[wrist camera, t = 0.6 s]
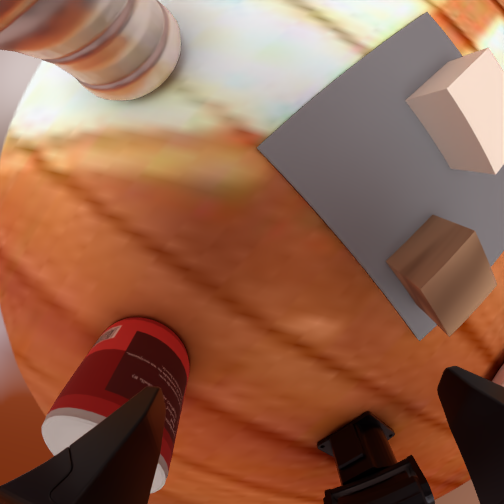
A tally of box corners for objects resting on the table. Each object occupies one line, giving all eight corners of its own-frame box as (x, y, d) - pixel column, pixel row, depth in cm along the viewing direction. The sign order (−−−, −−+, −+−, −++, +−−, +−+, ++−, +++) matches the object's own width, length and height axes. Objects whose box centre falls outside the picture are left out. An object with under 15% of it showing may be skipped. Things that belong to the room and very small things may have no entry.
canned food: (100, 374, 23) (51, 466, 13) (105, 299, 21) (29, 391, 11) (181, 401, 24) (159, 507, 14) (201, 330, 22) (175, 449, 11)
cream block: (488, 125, 17) (531, 124, 12) (450, 168, 18) (495, 174, 13) (447, 62, 16) (488, 47, 11) (405, 100, 17) (446, 88, 12)
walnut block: (458, 261, 20) (497, 284, 15) (416, 304, 21) (449, 336, 16) (432, 214, 19) (475, 230, 14) (385, 261, 20) (420, 289, 15)
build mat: (532, 203, 20) (536, 204, 19) (416, 337, 23) (419, 341, 22) (423, 14, 15) (426, 11, 14) (256, 147, 18) (256, 147, 18)
